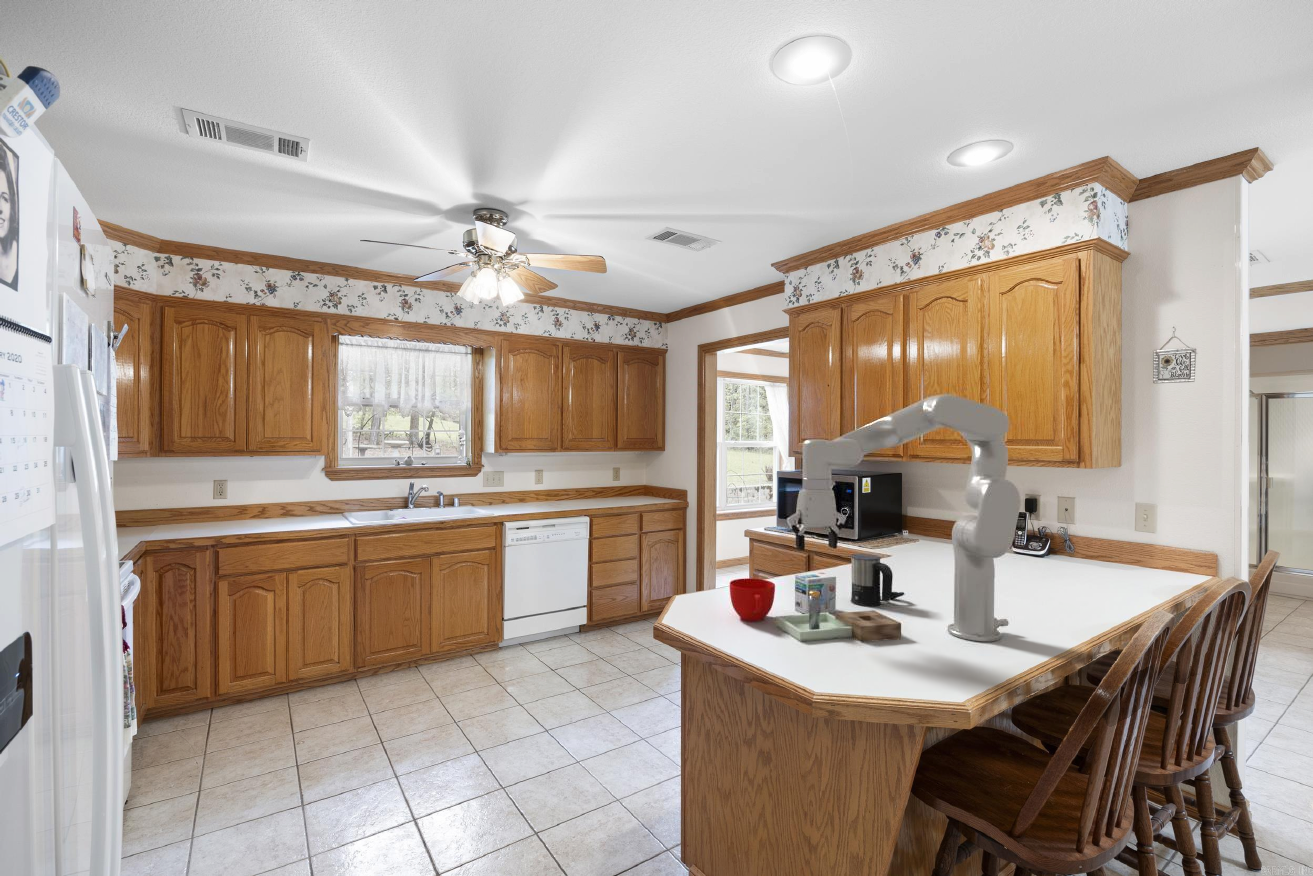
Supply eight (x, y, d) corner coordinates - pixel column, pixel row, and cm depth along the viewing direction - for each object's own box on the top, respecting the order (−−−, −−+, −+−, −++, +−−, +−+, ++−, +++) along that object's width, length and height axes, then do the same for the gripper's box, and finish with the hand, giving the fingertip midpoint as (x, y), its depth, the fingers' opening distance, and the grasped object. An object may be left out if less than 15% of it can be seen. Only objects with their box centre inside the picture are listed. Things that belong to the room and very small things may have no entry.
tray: (826, 621, 176) (826, 612, 176) (855, 636, 162) (855, 627, 162) (775, 625, 171) (775, 616, 171) (800, 642, 158) (800, 632, 158)
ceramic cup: (735, 629, 168) (735, 592, 167) (726, 611, 184) (726, 578, 184) (782, 629, 168) (782, 592, 168) (769, 611, 185) (769, 578, 185)
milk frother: (845, 603, 195) (845, 556, 195) (865, 593, 207) (865, 549, 207) (890, 611, 186) (891, 562, 186) (908, 601, 198) (909, 555, 198)
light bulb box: (807, 616, 181) (808, 579, 181) (793, 610, 187) (794, 574, 187) (836, 612, 185) (837, 576, 185) (822, 606, 191) (822, 571, 191)
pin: (816, 626, 169) (816, 590, 168) (821, 630, 166) (821, 592, 166) (807, 627, 168) (807, 590, 168) (812, 630, 165) (812, 593, 165)
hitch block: (873, 624, 173) (873, 610, 173) (901, 638, 161) (901, 623, 161) (835, 627, 170) (835, 613, 170) (860, 642, 158) (860, 626, 158)
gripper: (837, 483, 173) (837, 544, 173) (781, 484, 168) (781, 547, 168) (853, 485, 165) (852, 549, 165) (794, 487, 161) (794, 552, 161)
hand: (816, 548), depth 167 cm, fingers open, 9 cm apart
